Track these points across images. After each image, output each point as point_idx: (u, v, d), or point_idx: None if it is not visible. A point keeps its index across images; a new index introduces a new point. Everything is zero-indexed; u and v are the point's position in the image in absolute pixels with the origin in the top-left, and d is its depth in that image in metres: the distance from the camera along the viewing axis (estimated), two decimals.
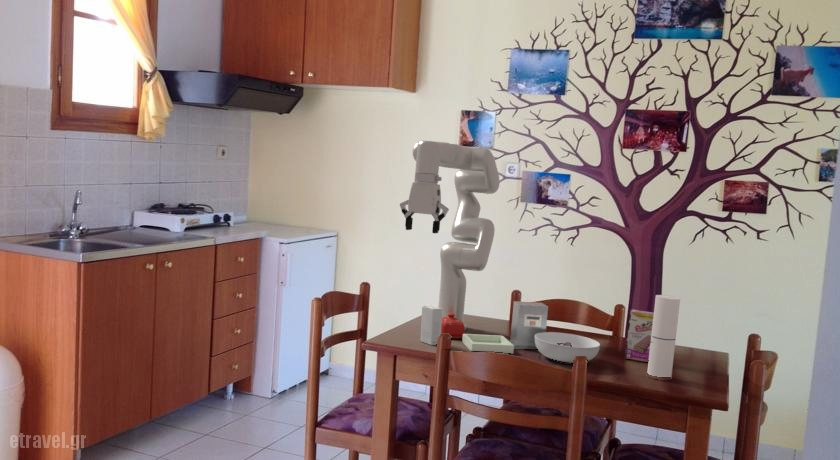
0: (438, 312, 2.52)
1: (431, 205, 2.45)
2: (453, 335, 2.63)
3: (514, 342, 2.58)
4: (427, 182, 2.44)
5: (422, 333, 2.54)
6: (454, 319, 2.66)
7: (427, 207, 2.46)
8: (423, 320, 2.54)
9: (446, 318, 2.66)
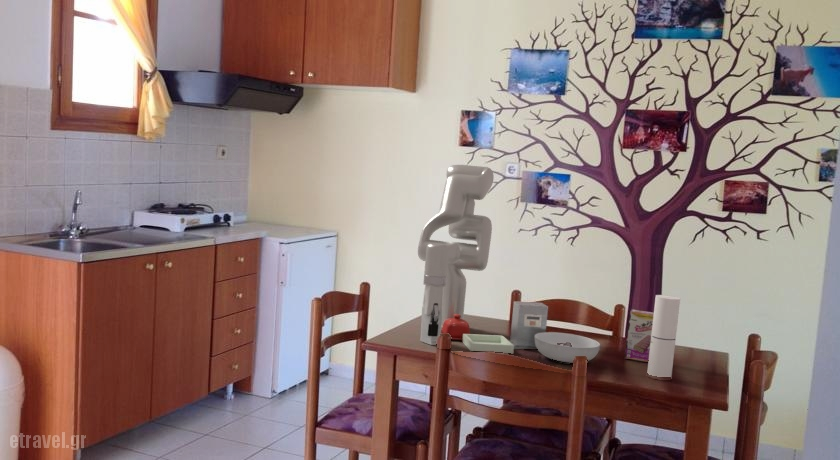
0: (438, 312, 2.52)
1: None
2: (457, 336, 2.61)
3: (514, 342, 2.58)
4: None
5: (422, 333, 2.54)
6: (459, 320, 2.64)
7: None
8: (423, 320, 2.54)
9: (452, 319, 2.64)
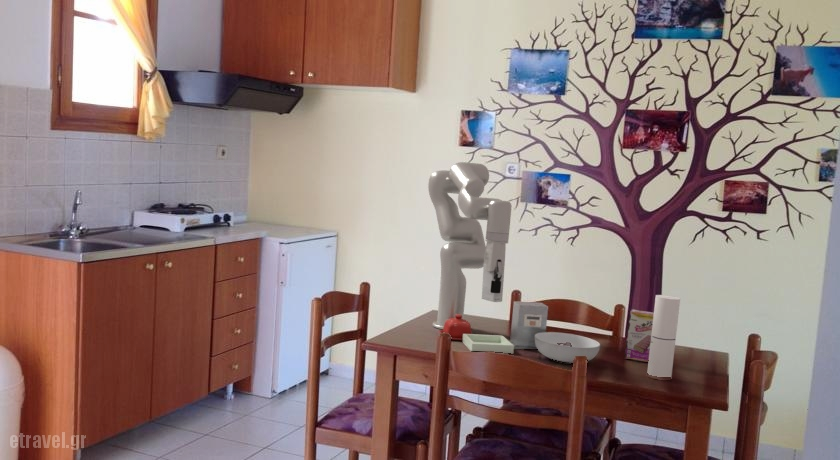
0: None
1: None
2: (458, 337, 2.61)
3: (514, 342, 2.58)
4: None
5: (484, 290, 2.53)
6: (461, 321, 2.64)
7: None
8: (485, 277, 2.53)
9: (453, 319, 2.65)
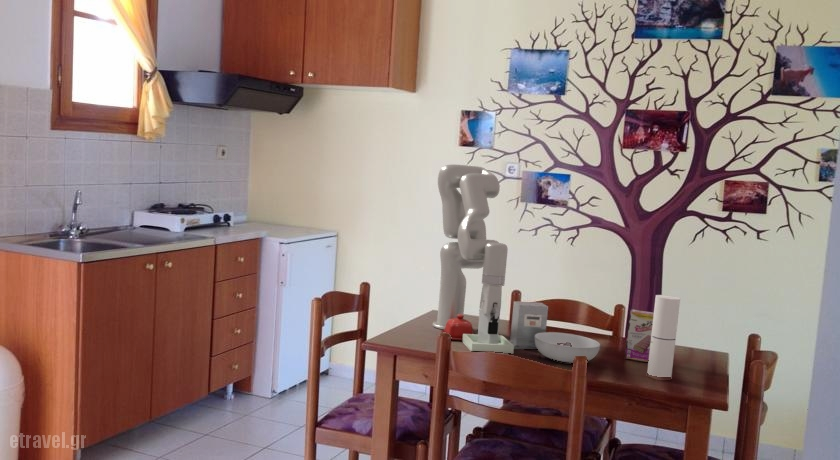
0: None
1: None
2: (460, 337, 2.61)
3: (514, 342, 2.58)
4: None
5: (479, 336, 2.55)
6: (462, 321, 2.64)
7: None
8: (480, 323, 2.54)
9: (455, 319, 2.65)
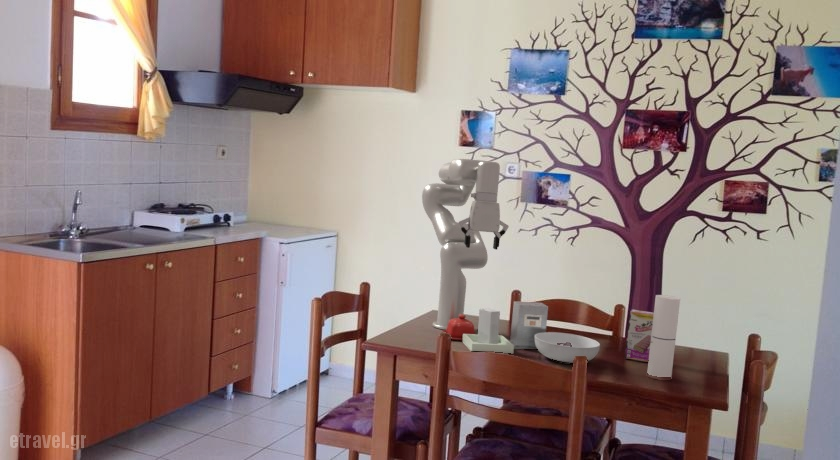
0: (496, 315, 2.52)
1: None
2: (462, 337, 2.62)
3: (514, 342, 2.58)
4: None
5: (479, 336, 2.55)
6: (464, 321, 2.64)
7: None
8: (480, 323, 2.54)
9: (456, 319, 2.65)
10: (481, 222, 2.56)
